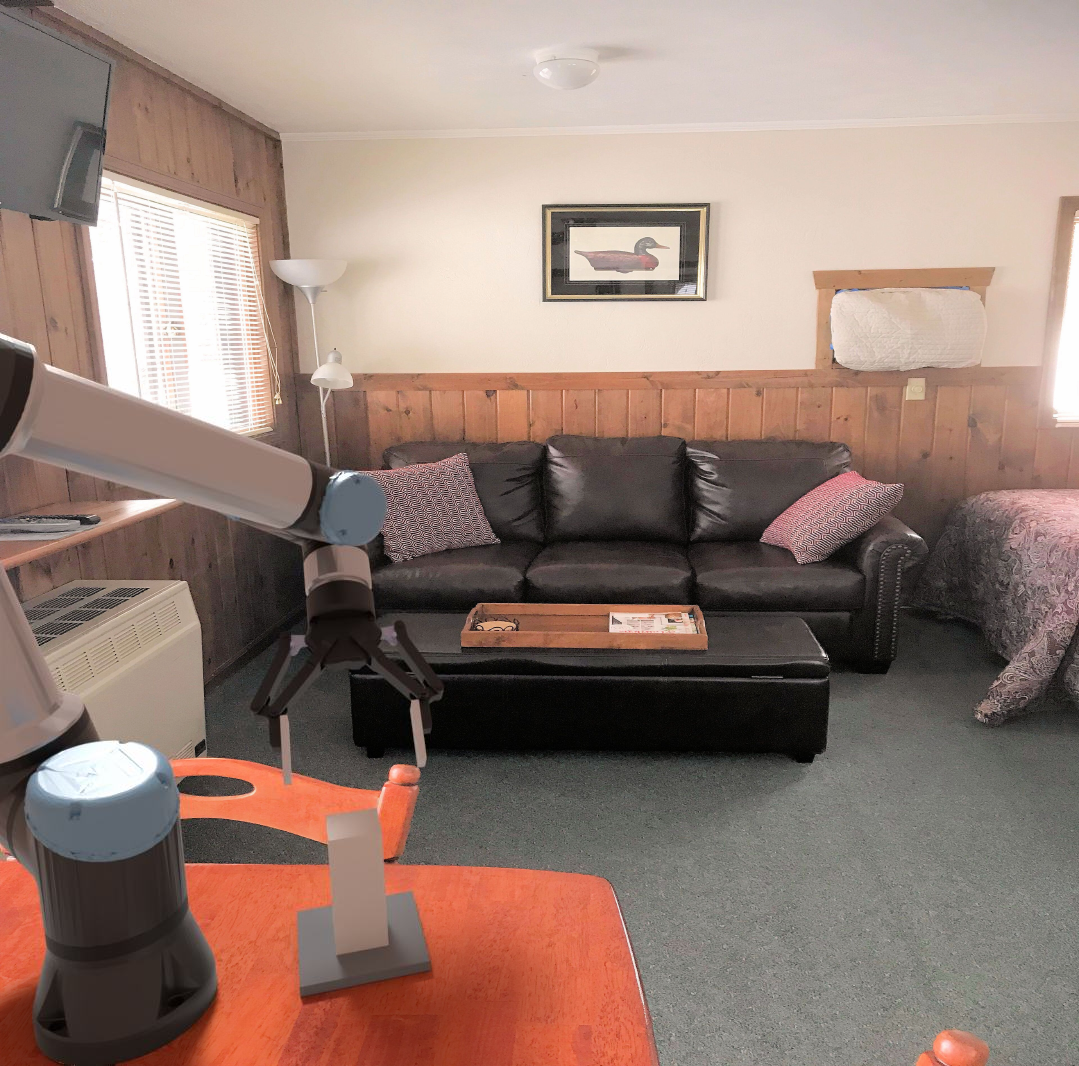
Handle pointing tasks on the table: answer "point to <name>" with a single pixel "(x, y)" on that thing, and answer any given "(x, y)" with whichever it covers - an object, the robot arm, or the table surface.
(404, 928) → the mat
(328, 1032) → the table surface
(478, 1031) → the table surface
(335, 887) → the white rectangular block
